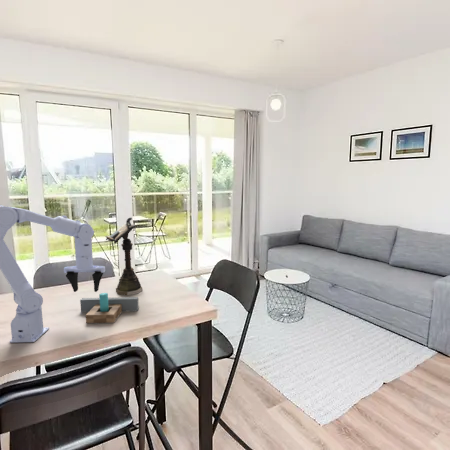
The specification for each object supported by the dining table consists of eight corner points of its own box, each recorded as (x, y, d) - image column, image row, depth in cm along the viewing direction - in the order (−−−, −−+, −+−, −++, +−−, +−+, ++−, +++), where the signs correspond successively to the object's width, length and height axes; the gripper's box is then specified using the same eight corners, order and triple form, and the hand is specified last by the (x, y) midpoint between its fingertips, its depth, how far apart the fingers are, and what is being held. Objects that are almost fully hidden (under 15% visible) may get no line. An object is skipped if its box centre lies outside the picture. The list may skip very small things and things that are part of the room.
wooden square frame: (114, 322, 116) (113, 314, 116) (86, 322, 116) (85, 315, 115) (121, 311, 126) (121, 304, 126) (96, 311, 126) (95, 304, 125)
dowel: (107, 318, 119) (106, 295, 118) (99, 318, 119) (98, 295, 118) (110, 315, 122) (108, 292, 121) (102, 315, 122) (100, 293, 121)
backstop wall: (137, 311, 126) (136, 298, 126) (81, 312, 126) (80, 299, 125) (140, 306, 131) (139, 295, 130) (85, 307, 130) (84, 295, 129)
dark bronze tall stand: (110, 300, 138) (105, 219, 133) (102, 291, 148) (98, 217, 143) (147, 292, 147) (144, 217, 142) (137, 285, 158) (134, 214, 153)
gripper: (107, 252, 122) (109, 287, 124) (69, 253, 122) (71, 287, 123) (100, 257, 115) (102, 293, 117) (60, 257, 115) (62, 293, 116)
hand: (86, 290), depth 120 cm, fingers open, 7 cm apart
